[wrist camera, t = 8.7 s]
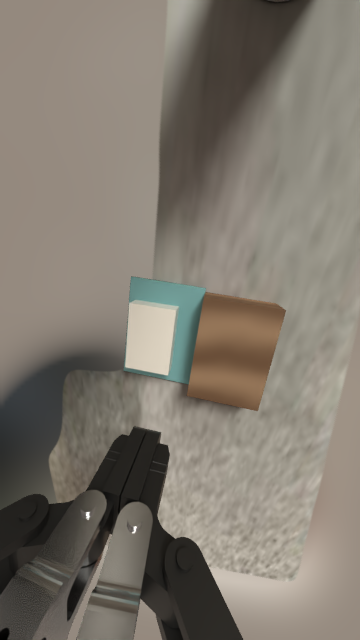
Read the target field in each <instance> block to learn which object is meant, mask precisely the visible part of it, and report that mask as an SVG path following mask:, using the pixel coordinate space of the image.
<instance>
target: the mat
mask: <svg viewBox="0 0 360 640" xmlns="http://www.w3.org/2000/svg"><path fill="white" fill-rule="evenodd" d="M205 291H206V288H201V287H195V286H188V285H182V284H176V283H170V282H164V281H157V280H151V279H145V278H138V277H131V283H130V297H129V303H130V302H132V301H134V300H141V301H147V302H153V303H160V304H166V305H172V306H179V312H178V319H177V327H176V335H175V343H174V351H173V359H172V367H171V370H170V372H169V374H168V375H163V374H157V373H152V372H147V371H142V370H137V369H132V368H126V367H125V362H126V347H125V360H124V371H128V372H133V373H138V374H142V375H147V376H152V377H157V378H161V379H166V380H171V381H176V382H181V383H185V384H189V380H190V374H191V368H192V363H193V357H194V351H195V345H196V339H197V334H198V328H199V322H200V316H201V310H202V304H203V299H204V295H205ZM128 315H129V309H128ZM127 331H128V321H127ZM126 346H127V335H126Z"/></svg>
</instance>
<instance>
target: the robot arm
mask: <svg viewBox="0 0 360 640" xmlns="http://www.w3.org/2000/svg"><path fill="white" fill-rule="evenodd" d="M267 1H273V2H283V1H289V0H267ZM160 437H161V432H157V431H153V430H149V429H148V430H147V429H144V428H140V427H136V426H134V427H133V429H132V431H131V433H130V435H129V436H127V435H123V434H122V435H121V436H119V437H118V438H117V439H116V440H115V441H114V442H113V444H112V446H111V447H110V449H109V451H108V453H107V455H106V456H105V459H104V460H103V462H102V463H101V465H100V467H99V469H98V471H97V472H96V474H95V476H94V478H93V480H92V481H91V483H90V485H89V487H88V488H87V490H86V491H85V492H83V493H81V494H80V495H78V496H77V497H76V498H75V500H73V501H70V502H65V503H56V504H49V503H48V500H47V498H46V497H45V496H43V495H41V494H33V495H29V496H26V497H24V498H22V499H21V500H18V501H17V502H15V503H13V504H11V505H9V506H7V507H5V508H3V509H2V510H0V640H67V638H68V634H69V631H70V629H71V626H72V623H73V621H74V619H75V616H76V614H77V612H78V609H79V607H80V605H81V603H82V601H83V598H84V596H85V594H86V592H87V589H88V587H89V585H90V583H91V580H92V578H93V576H94V574H95V571H96V569H97V566H98V565H99V562H100V560H101V558H102V555H103V550H104V547H105V545H106V542H107V539H108V537H109V534H112V537H111V540H110V543H109V547H108V550H107V553H106V556H105V560H104V563H103V566H102V569H101V572H100V576H99V579H98V582H97V585H96V587H95V589H94V590H93V591H92V594H91V596H90V598H89V601H88V604H87V607H86V610H85V613H84V616H83V620H82V623H81V626H80V629H79V632H78V636H77V638H76V640H133V639H134V633H135V627H136V621H137V616H138V610H139V604H140V598H141V599H142V600H143V601H144V602H145V603H146V604H147V605H148V606H149V607H150V608H151V609H152V610H153V611H154V612H155V613H156V618H157V622H158V625H159V629H160V632H161V636H162V640H243V638H242V636H241V634H240V632H239V630H238V628H237V626H236V624H235V622H234V619H233V617H232V615H231V613H230V611H229V609H228V607H227V605H226V603H225V601H224V599H223V597H222V594H221V592H220V590H219V588H218V586H217V584H216V582H215V580H214V578H213V576H212V574H211V572H210V569H209V567H208V565H207V563H206V561H205V559H204V557H203V555H202V553H201V551H200V549H199V547H198V546H197V544H196V543H195V542H194V541H192V540H191V539H189V538H185V537H180V538H177V539H175V538H173V537H172V536H171V535H170V534H168V533H167V532H166V531H165V530H164V529H163V528H162V526H161V525H160V523H159V520H158V517H157V514H158V510H159V505H160V501H161V496H162V492H163V487H164V483H165V479H166V474H167V468H168V462H169V456H170V454H169V449H168V445H164V444H160Z"/></svg>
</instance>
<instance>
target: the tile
mask: <svg viewBox="0 0 360 640" xmlns="http://www.w3.org/2000/svg"><path fill="white" fill-rule="evenodd" d="M178 312H179V306H172V305H166V304H160V303H153V302H147V301H141V300H134V301H132V302H130V303H129V315H128V331H127V346H126V362H125V367H126V368H132V369H137V370H142V371H147V372H152V373H157V374H163V375H168V374H169V372H170V370H171V367H172V359H173V351H174V343H175V335H176V327H177V319H178Z"/></svg>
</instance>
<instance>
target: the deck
mask: <svg viewBox="0 0 360 640" xmlns="http://www.w3.org/2000/svg"><path fill="white" fill-rule="evenodd" d="M285 312H286V310H285V309H283V308H282V307H280V306H279V305H278V304H275V303H269V302H263V301H257V300H251V299H245V298H238V297H232V296H226V295H220V294H214V293H208V292H205V295H204V299H203V304H202V310H201V316H200V322H199V328H198V334H197V339H196V345H195V351H194V357H193V363H192V368H191V374H190V380H189V386H188V392H187V396H190V397H195V398H200V399H204V400H209V401H213V402H218V403H223V404H227V405H232V406H237V407H241V408H246V409H251V410H255V411H258V408H259V405H260V401H261V398H262V394H263V391H264V387H265V383H266V380H267V376H268V373H269V369H270V366H271V362H272V359H273V355H274V351H275V348H276V344H277V341H278V337H279V334H280V330H281V326H282V323H283V319H284V316H285Z"/></svg>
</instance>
